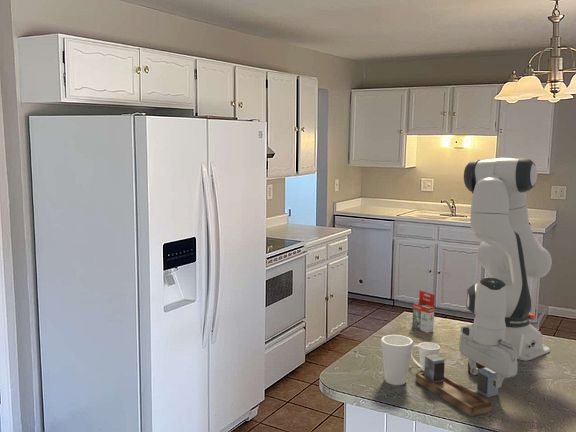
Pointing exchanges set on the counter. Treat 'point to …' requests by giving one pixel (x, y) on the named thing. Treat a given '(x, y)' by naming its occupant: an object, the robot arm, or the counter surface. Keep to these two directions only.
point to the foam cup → (396, 358)
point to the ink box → (424, 312)
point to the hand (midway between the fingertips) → (485, 380)
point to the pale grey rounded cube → (487, 382)
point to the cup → (425, 352)
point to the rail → (450, 388)
